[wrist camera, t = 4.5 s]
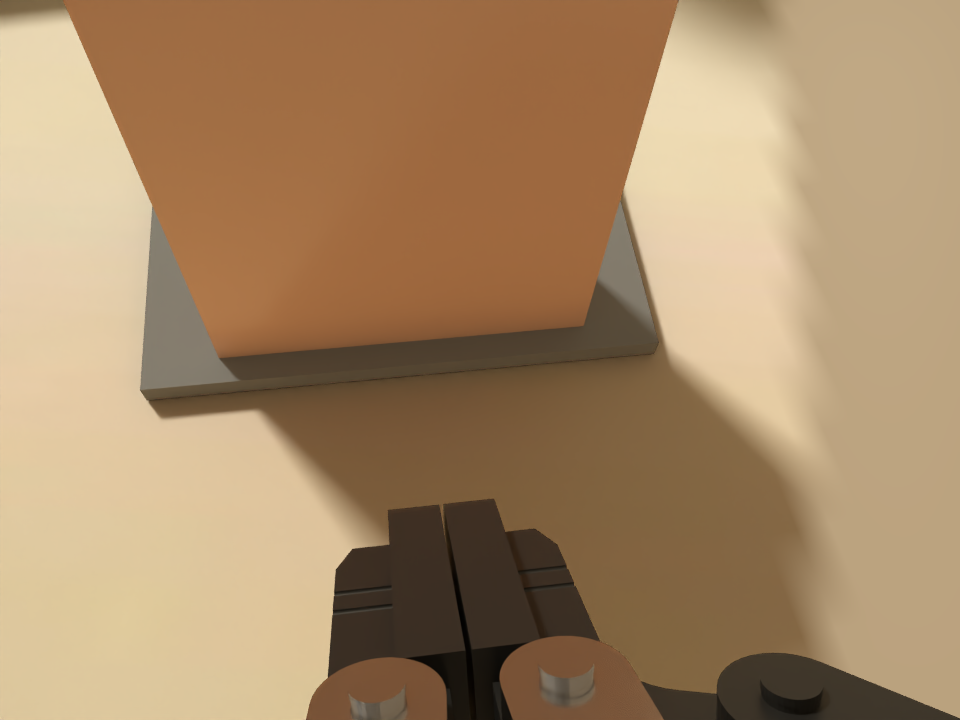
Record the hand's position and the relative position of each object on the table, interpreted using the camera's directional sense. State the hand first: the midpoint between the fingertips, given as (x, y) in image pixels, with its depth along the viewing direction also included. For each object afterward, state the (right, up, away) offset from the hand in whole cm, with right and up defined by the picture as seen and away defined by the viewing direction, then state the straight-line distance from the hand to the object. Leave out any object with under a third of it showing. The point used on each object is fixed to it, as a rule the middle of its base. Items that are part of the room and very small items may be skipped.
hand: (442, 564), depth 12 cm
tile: (-2, +5, +12) cm, 13 cm away
